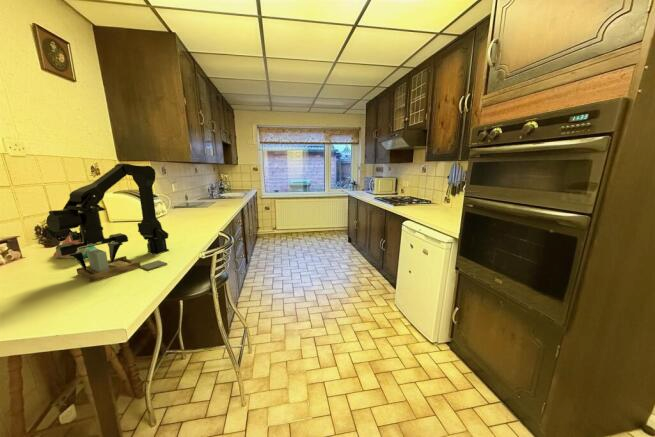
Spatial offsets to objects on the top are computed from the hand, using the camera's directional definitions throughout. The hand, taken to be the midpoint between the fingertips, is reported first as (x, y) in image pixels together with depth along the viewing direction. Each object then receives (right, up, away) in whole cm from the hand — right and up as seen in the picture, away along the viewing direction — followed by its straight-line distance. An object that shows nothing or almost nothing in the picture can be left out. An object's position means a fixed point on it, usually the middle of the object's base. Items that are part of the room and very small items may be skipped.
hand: (99, 265), depth 93 cm
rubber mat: (+15, -2, +7) cm, 17 cm away
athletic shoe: (-28, 0, +19) cm, 34 cm away
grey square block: (0, -3, +1) cm, 3 cm away
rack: (+1, -3, +3) cm, 4 cm away
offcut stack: (+3, -2, +6) cm, 7 cm away
